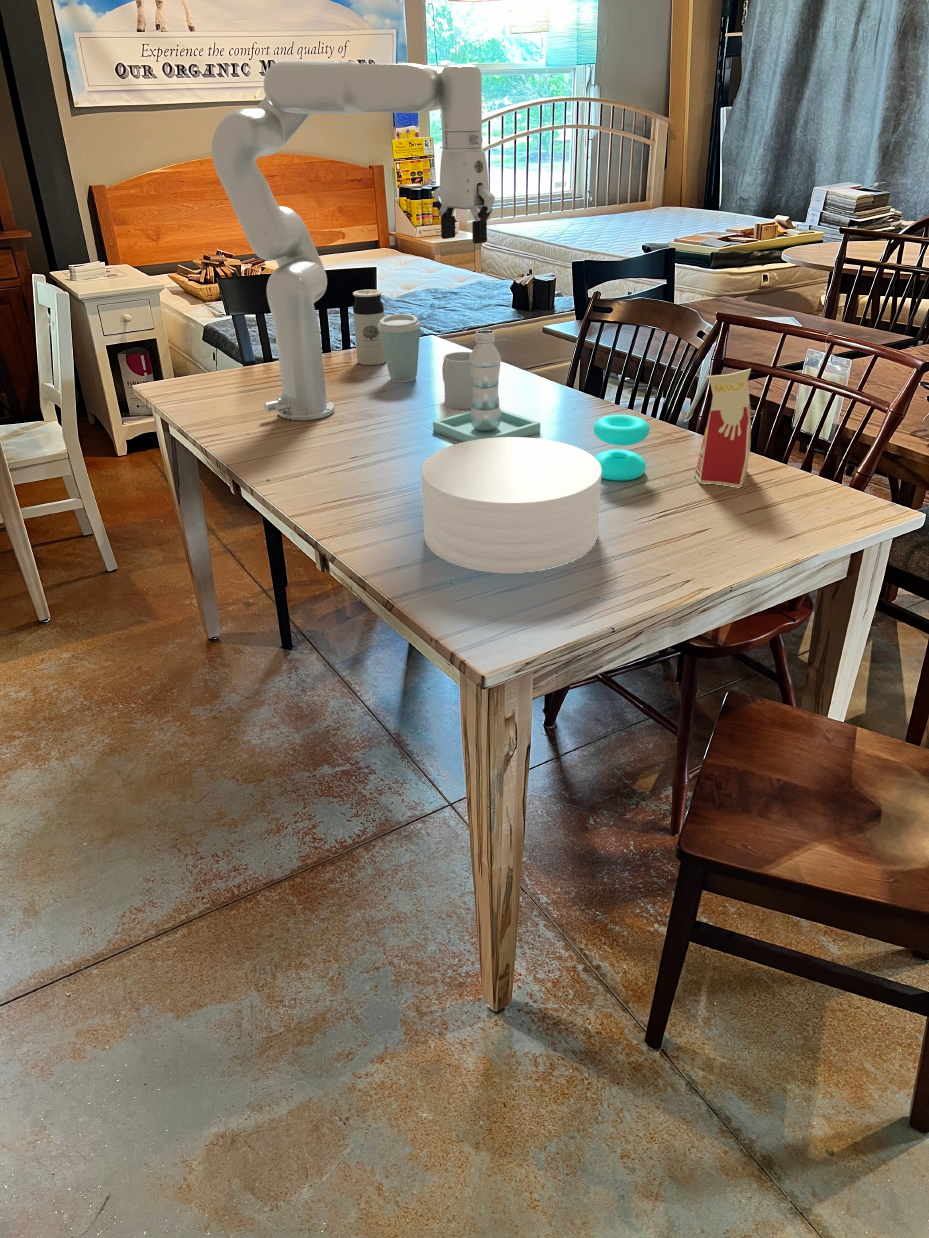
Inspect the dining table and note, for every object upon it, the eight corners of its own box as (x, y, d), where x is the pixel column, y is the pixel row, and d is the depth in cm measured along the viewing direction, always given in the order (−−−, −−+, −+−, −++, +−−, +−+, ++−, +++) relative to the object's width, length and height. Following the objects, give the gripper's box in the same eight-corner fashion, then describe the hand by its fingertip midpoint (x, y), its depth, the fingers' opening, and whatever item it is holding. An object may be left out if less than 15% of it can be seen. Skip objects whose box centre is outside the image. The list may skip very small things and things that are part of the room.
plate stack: (466, 589, 125) (464, 516, 119) (399, 517, 147) (395, 452, 141) (631, 552, 134) (637, 482, 128) (545, 489, 156) (547, 427, 150)
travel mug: (360, 358, 237) (355, 289, 228) (389, 358, 236) (385, 289, 227) (354, 366, 230) (348, 295, 221) (384, 366, 230) (379, 295, 220)
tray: (482, 451, 173) (482, 440, 172) (433, 431, 184) (432, 421, 183) (540, 433, 182) (540, 422, 181) (489, 415, 193) (489, 405, 191)
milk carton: (746, 471, 162) (764, 363, 151) (743, 489, 154) (761, 377, 144) (696, 466, 164) (710, 359, 154) (691, 484, 157) (705, 373, 146)
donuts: (629, 409, 162) (661, 424, 155) (625, 460, 168) (656, 477, 160) (583, 417, 159) (614, 433, 151) (581, 469, 164) (610, 487, 156)
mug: (489, 405, 199) (488, 357, 193) (458, 412, 195) (457, 363, 189) (459, 393, 207) (458, 346, 202) (429, 400, 203) (427, 352, 198)
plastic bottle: (507, 428, 183) (508, 331, 172) (486, 436, 179) (485, 337, 168) (485, 422, 187) (484, 326, 176) (463, 430, 182) (461, 332, 172)
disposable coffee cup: (422, 385, 214) (419, 322, 206) (378, 385, 214) (374, 323, 207) (424, 373, 223) (421, 312, 215) (382, 374, 223) (378, 313, 216)
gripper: (507, 142, 160) (506, 242, 169) (448, 140, 171) (451, 234, 180) (476, 144, 156) (477, 247, 165) (418, 142, 167) (422, 238, 176)
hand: (463, 240), depth 172 cm, fingers open, 9 cm apart
